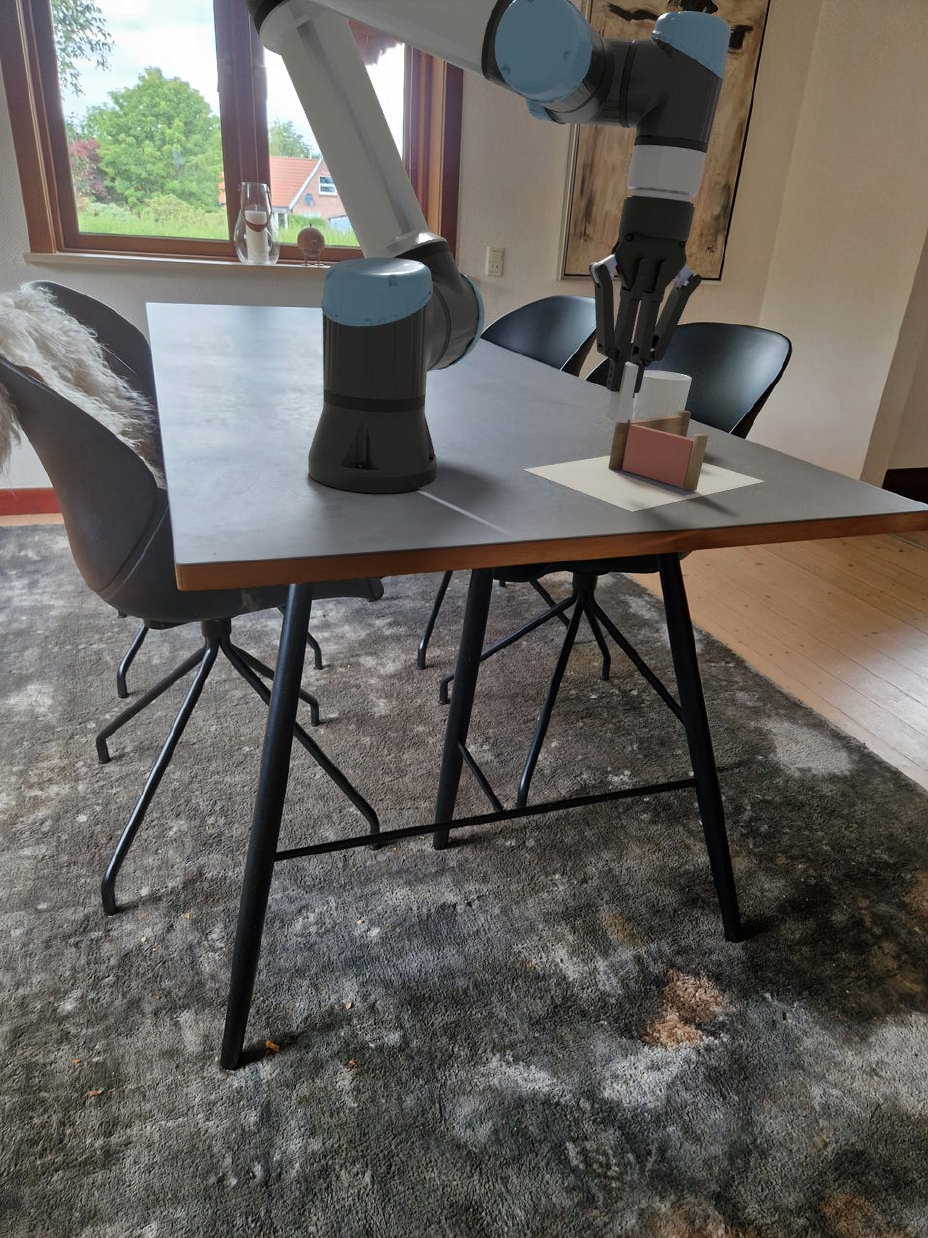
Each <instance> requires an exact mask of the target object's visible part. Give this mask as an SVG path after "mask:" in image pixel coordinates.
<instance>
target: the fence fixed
mask: <svg viewBox="0 0 928 1238" xmlns="http://www.w3.org/2000/svg"><path fill="white" fill-rule="evenodd" d="M691 416H692V412H691V411H689V410H684V411H683V410H679V411H678V413H677V415H674V416H666V417H658V418H650V419H642V420H634V421H632V420H631V419H630V418H628V422H627V423H619V422H615V425H614V431H613V436H612V444H611V449H610V455H609V456H610V461H609V467H608V468H609V469H613V470H622V468H623V463H624V457H625V451H626V445H627V439H628V433H629V427H630V425H633V424H636V425H639V426H643V427H647V428H651V429H655V430H659V431H663V432H667V433H671V434H675V435H679V436H683V437H688V436H687V435H688V429H689V425H690V421H691Z"/></svg>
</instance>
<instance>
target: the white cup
mask: <svg viewBox="0 0 928 1238" xmlns="http://www.w3.org/2000/svg"><path fill="white" fill-rule="evenodd" d="M692 380H693V378H692V377H691V376H689V375H686V374H684V373H683V374H682V373H677V372H673V371H665V370H656V369H655V370H654V369H653V370H649V369H647V370H646V369H645V370H644V375H643V380H642V385H641V389H640V391H639V393H634V399H633V400H634V401H633V407H632V408H633V409H632V418H631V421H634V420H642V419H650V418H658V417H666V416H674V415H677V413H678V411H679V410H683V411H685V410H686V409H685V408H686V404H687V401H688V395H689V391H690V388H691V384H692V383H691V382H692Z"/></svg>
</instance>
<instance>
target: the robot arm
mask: <svg viewBox="0 0 928 1238" xmlns="http://www.w3.org/2000/svg"><path fill="white" fill-rule="evenodd" d="M242 1H243V2H244V5H245V7H246V9H247V12H248V14H249V16H250V18H251V21H252V23H253V26H254V29H255V31H256V33H257V34H258V38H259V41H260V42H261V44H262V46H263V47H264V48H265V49H266V50H268V51H270V52H272V53H274V54H276V55H278V56H281V59H282V62H283V64H284V66H285V68H286V72H287V73H288V75H289V78H290V80H291V83H292V85H293V88H294V90H295V93H296V95H297V97H298V99H299V103H300V105H301V107H302V110H303V112H304V114H305V117H306V119H307V121H308V124H309V127H310V129H311V131H312V134H313V136H314V139H315V141H316V144H317V146H318V149H319V151H320V153H321V156H322V157H323V160H324V162H325V165H326V168H327V170H328V172H329V175H330V177H331V179H332V182H333V184H334V187H335V189H336V191H337V195H338V196H339V199H340V202H341V204H342V207H343V209H344V211H345V214H346V216H347V218H348V221H349V223H350V226H351V228H352V231H353V232H354V236H355V237H356V240H357V242H358V245H359V247H360V251H361V252H362V255H363V258H362V257H361V258H360V257H359V258H352V259H350V258H349V259H346V260H341V261H338V262H336V263H333V264H332V265H330V266H329V267H328V268H327V269H326V271H325V273H324V276H323V288H322V289H323V290H322V291H323V292H322V296H321V300H320V307H321V308H320V309H321V310H322V315H321V316H322V377H323V378H322V380H323V382H322V383H323V385H322V386H323V387H322V389H323V390H322V391H323V393H322V394H323V396H322V397H323V405H322V411H321V413H320V417H319V420H318V423H317V426H316V429H315V432H314V435H313V439H312V442H311V446H310V448H309V451H308V475H309V476H310V477H311V478H312V479H313V480H315V481H316V482H318V483H320V484H323V485H325V486H328V487H332V488H334V489H340V490H343V491H345V490H346V491H350V492H357V493H358V492H359V493H370V494H371V493H372V494H389V493H391V494H392V493H393V494H394V493H404V492H411V491H416V490H419V489H421V488H422V487H426V486H428V485H430V484H431V483H433V482H435V480H436V478H437V466H438V465H437V464H438V463H437V462H438V461H437V456H436V453H435V448H434V445H433V441H432V437H431V432H430V427H429V424H428V421H427V417H426V396H427V395H426V394H427V392H426V391H427V380H428V379H427V378H428V376H427V375H428V373H429V372H432V371H436V370H438V371H442V370H445V369H447V368H449V367H451V366H455V365H456V364H457V363H459V362H460V361H462V360H463V359H465V358H466V357H467V356H468V355H470V353H471V352H473V350H474V349H475V347H476V346H477V345H478V343H479V340H480V338H481V336H482V332H483V330H484V326H485V319H486V318H485V315H486V314H485V305H484V301H483V298H482V295H481V293H480V291H479V289H478V287H477V286H476V284H475V283H474V282H473V280H471V278H469V276H467V275H466V274H464V273H462V272H461V271H459V268H458V266H457V263H456V261H455V259H454V255H453V253H452V251H451V248H450V245H449V243H448V241H447V239H446V238H444V237H442V236H440V235H438V234H435V233H433V232H432V231H431V230H430V229H429V226H428V223H427V221H426V218H425V216H424V214H423V210H422V209H421V206H420V203H419V200H418V198H417V195H416V192H415V190H414V187H413V185H412V183H411V180H410V177H409V175H408V172H407V170H406V167H405V165H404V163H403V159H402V157H401V155H400V152H399V149H398V147H397V144H396V142H395V139H394V137H393V134H392V132H391V129H390V126H389V123H388V121H387V118H386V116H385V114H384V111H383V109H382V105H381V104H380V100H379V98H378V96H377V93H376V91H375V88H374V84H373V83H372V80H371V78H370V75H369V72H368V69H367V67H366V64H365V62H364V59H363V56H362V55H361V51H360V49H359V47H358V46H359V45H358V44H357V42H356V38H355V37H354V34H353V32H352V28H351V26H350V21H353V22H355V23H357V24H360V25H362V26H364V27H366V28H368V29H371V30H373V31H375V32H378V33H379V34H382V35H384V36H387V37H388V38H392V39H394V40H396V41H398V42H400V43H402V44H405V45H407V46H410V47H412V48H414V49H415V50H418V51H421V52H422V53H425V54H428V55H430V56H431V57H434V58H437V59H438V60H441V61H443V62H445V63H448V64H450V65H453V66H454V67H457V68H460V69H461V70H463V71H466V72H468V73H471V74H473V75H474V76H475V75H476V76H477V77H480V78H482V79H484V80H487V81H488V82H491V83H493V85H496V86H499V87H501V88H503V89H505V90H507V91H510V92H512V93H514V94H516V95H518V96H520V97H522V98H525V102H526V104H527V107H528V112H529V113H530V115H531V116H532V117H533V118H534V119H536V120H539V121H547V122H551V123H556V124H558V125H567V124H571V125H572V124H573V125H575V124H576V125H589V126H590V125H591V126H604V127H606V126H607V127H621V128H623V129H636V131H635V137H634V142H633V149H632V155H631V161H630V165H629V170H628V176H627V184H626V187H627V189H628V190H629V191H631V192H630V195H627V196H626V198H625V199H623V204H622V208H621V209H622V210H621V216H620V220H619V228H618V237H617V240H616V242H615V244H614V245H613V246H612V249H611V252H610V255H609V256H607V257H605V258H604V259H602V260H600V261H599V262H596V261H593V262H590V263H589V266H588V272H589V275H590V277H591V280H592V282H593V285H594V307H595V308H594V309H595V311H594V313H595V335H596V337H595V339H596V350H597V353H598V354H600V355H602V356H604V357H607V358H608V359H609V368H608V374H607V379H606V385H605V386H606V390H608V391H610V392H611V393H610V399H609V403H608V410H607V414H606V417H607V418H609V419H610V420H611V421H613V422H614V423H616V422H619V423H627V422H628V419H629V416H630V411H631V407H632V403H633V398H634V394H635V393H639V391H640V389H641V385H642V380H643V375H644V370H646V368H648V367H649V366H650V365H651V364H652V362H660V361H661V360H663V359H664V357H665V354H666V352H667V350H668V347H669V345H670V343H671V341H672V338H673V336H674V333H675V331H676V329H677V327H678V324H679V322H680V319H681V318H682V315H683V313H684V311H685V309H686V306H687V304H688V300H689V299H690V297H691V296H692V294H693V293H694V292H695V291H696V289H697V288H698V287H699V286H700V285H701V283H702V279H703V278H702V275H701V274H699V273H694V271H692V270H691V268H690V267H689V266H688V265H687V260H688V259H687V254H686V246H687V243H688V240H689V237H690V235H691V234H690V233H691V229H692V225H693V219H694V215H695V211H696V207H695V204H694V203H692V198H696V197H697V196H698V195H699V193H700V189H701V184H702V183H701V182H702V178H703V174H704V168H705V163H706V159H707V153H708V148H709V145H710V140H711V135H712V132H713V131H712V130H713V127H714V122H715V118H716V113H717V109H718V105H719V101H720V96H721V91H722V87H723V84H724V81H725V69H726V64H727V58H728V53H729V52H728V51H729V47H730V40H731V29H730V27H729V25H728V23H727V21H726V20H724V19H723V18H721V17H719V16H717V15H715V14H710V13H708V12H700V11H692V10H688V11H687V10H685V11H683V10H682V11H681V10H680V11H679V12H676V11H670V12H666V13H663V14H661V16H659V17H658V18H657V20H656V23H655V25H654V29H653V31H652V33H651V36H650V38H642V39H637V38H636V39H633V38H631V39H629V38H628V39H627V38H617V37H615V38H614V37H604V36H602V35H601V34H600V33H599V32H598V31H597V30H596V29H595V28H594V27H593V26H592V25H591V24H590V22H589V21H588V20H587V19H586V17H584V15H583V13H582V11H580V10H579V9H578V7H577V5H576V4H575V3H574V2H572V1H571V0H242ZM615 271H616V273H617V276H618V279H619V281H620V289H619V297H620V299H619V304H618V311H617V314H616V321H615V306H614V305H615V303H614V302H615V300H614V298H615V297H614V295H615V294H614V284H613V279H614V277H615ZM672 281H673V283H674V285H673V287H672V288H671V290H670V292H669V294H668V296H667V299H666V301H665V304H664V305H663V309H662V311H661V313H660V316H659V312H660V307H661V304H662V302H663V301H664V297H665V293H666V288H667V287H668V286H669V285H670V284H671V282H672ZM658 317H659V318H658ZM634 329H635V330H634ZM631 345H632V346H631ZM630 350H631V351H630ZM629 355H630V357H629ZM629 359H630V361H628V360H629Z"/></svg>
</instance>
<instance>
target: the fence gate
mask: <svg viewBox="0 0 928 1238" xmlns="http://www.w3.org/2000/svg"><path fill="white" fill-rule="evenodd" d="M708 439H709V435H707V434H705V433H694V435H693V438H690V437H688V436H686V437H683V436H679V435H675V434H671V433H667V432H663V431H659V430H655V429H651V428H647V427H643V426H639V425H636V424H633V425H630V427H629V433H628V439H627V445H626V451H625V457H624V463H623V468H622V470H625V471H628V472H632V473H635V474H638V475H642V476H645V477H648V478H652V479H655V480H658V481H662V482H665V483H668V484H672V485H675V486H679V487H682V488H684V489H686V490H691V491H695V490H697V486H698V482H699V477H700V472H701V468H702V463H703V462H704V458H705V457H704V456H705V453H706V449H707V443H708Z"/></svg>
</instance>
